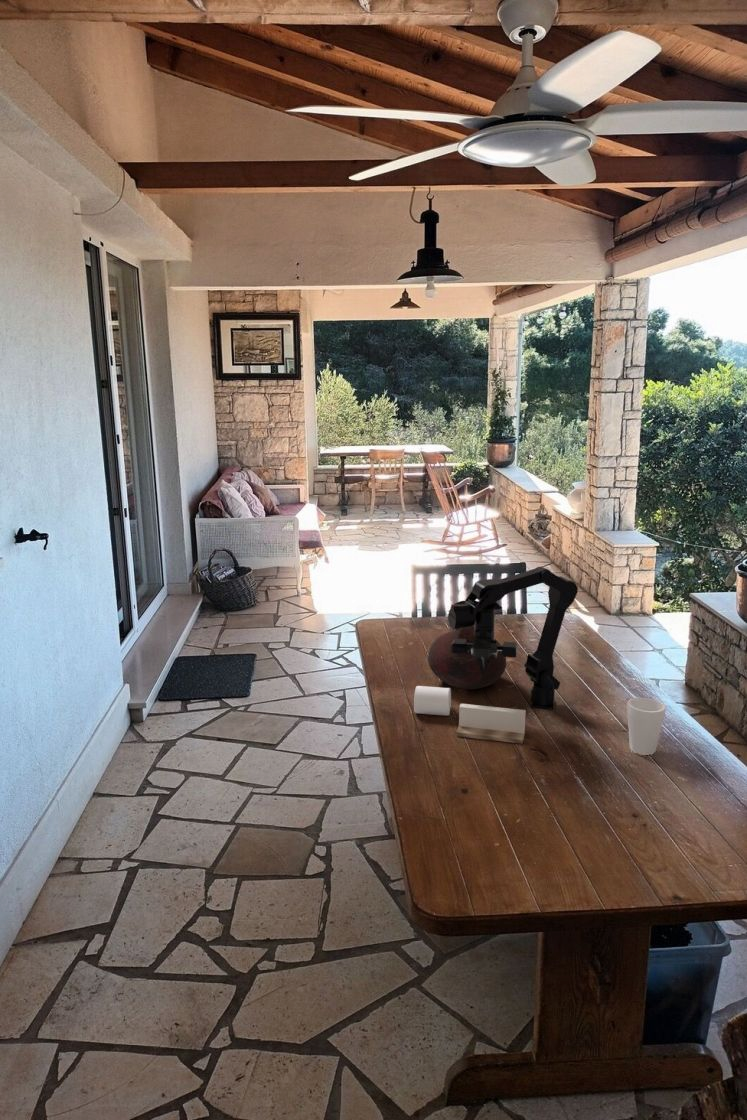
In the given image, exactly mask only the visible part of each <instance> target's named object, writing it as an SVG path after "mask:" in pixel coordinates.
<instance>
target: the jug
mask: <svg viewBox="0 0 747 1120" xmlns="http://www.w3.org/2000/svg"><path fill="white" fill-rule="evenodd" d="M475 601H476V602H479V600H475ZM454 604H457V605H459V604H466V603H465V600H459V601H457V602H455V603H454ZM474 631H475V625H472V626H471V627H464V628H456V629H451V631H448V632H445V633H443V634H442V635H441V634H440V635H439V636H438V637H436V639H434V641H433V642H432V644H431V645H430V647H429V651H428V654H427V661H428V666H429V669H430V670H431V671H432V673H433V675H435V676H436V677H437V678H438V679H439V680H440V681H442V682H444V683H445V684H446V685H448V686H450V687H453V688H457V689H462V690H478V689H482V688H485V687H488V686H490V685H492V684H494V683H496V682H497V681H498V680H499V679H500V678H501V677H502V676H503V674H504V673H505V672H506V668H507V657H505V656H504V655H503V654H502V652H498V653H497V656H496V658H494V659H492V660H491V662H490V664H489V666H488V669H487V672H486V675H485V676H482V673H481V670H480V668H479V665H478V662H477V660H476V659H475V658H474V657H471V650H465V649H464V652H463V653H462V654H456V653H451V644H452V642H453V640H454V639H455V638H456V639H467V643H473V639H474ZM494 640H497V639H496V638H494ZM497 643H498V645H502V644H501V643H500V642H499V640H497ZM483 659H484V666H485V658H484V657H483Z"/></svg>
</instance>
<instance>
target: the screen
mask: <svg viewBox="0 0 747 1120" xmlns="http://www.w3.org/2000/svg"><path fill="white" fill-rule="evenodd" d="M458 709H459V716H458V727H457V731H456V737H460V738H470V739H477V740H478V739H479V740H487V741H495V742H496V741H497V742H504V743H513V744H521V745H522V744H524V739H525V734H526V733H525V732H526V713H527V711H526V709H517V708H507V707H499V706H498V707H497V706H489V705H479V704H478V705H477V704H469V703H460V704H459V708H458Z"/></svg>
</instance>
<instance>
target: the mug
mask: <svg viewBox="0 0 747 1120" xmlns="http://www.w3.org/2000/svg"><path fill="white" fill-rule="evenodd" d="M451 701H452V690H451V687H438V686H426V685H425V686H424V685H416V686H415V690H414V697H413V710H414V714H423V715H435V716H447V717H449V716H450V713H451V703H452V702H451Z"/></svg>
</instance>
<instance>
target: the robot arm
mask: <svg viewBox="0 0 747 1120" xmlns="http://www.w3.org/2000/svg"><path fill="white" fill-rule="evenodd" d="M541 584H544V585H545V586H547V587H548V593H547V595H548V600H549V601H548V602H549V606H548V611H547V614H546V617H545V621H544V624H543V627H542V631H541V633H540V634H541V635H540V637H539V641H538V645H537V648H536V651H535V652H533V653H532V654H531V653H528V654H527V658H526V661H525V663H524V665H523V666H524V667H525V674H526V675H527V676H528V677H529V678H530V679H529V680H530V681H531V682H533V686H531V690H530V703H531V707H532V708H540V709H551V710H553V709H554V710H555V700H556V699H555V693H556V692H555V691H556V690H558V689H559V687H560V685H561V682H560V681H559V680H558V679H557V678H556V677H555V676H554V671H555V663H554V651H555V648H556V645H557V642H558V639H559V636H560V632H561V628H562V625H563V621H564V618H565V614H566V611H567V610H568V609H569V607H570V606H571V605H572V604H573V603H574V601H575V599H576V597H577V595H578V592H579V591H578V590H579V587H578V585H577V583H575V582H574V581H572V580H570V579H568V578H566V577H563V576H558V575H557V574H554V573H553V572H552V571H551V570H550V569H548V568H547V567H544V566H538V567H537V566H536V567H535V568H534V569H530V570H529V569H528V570H525V571H523V572H519V573H516V574H513V575H511V576H507V577H504V578H497V579H495V578H488V579H480V580H478V581H475V583H474V584H473V586H472V588H471V591H470V592H469V594H468V596H467V597H466V599H465V600H464V601H465V603H466V604H459V605H457V604H455V603H454V604H451V606H450V609H449V611H448V614H447V620H448V625H449V626H450V628H451V630H453V629H456V628H464V627H471V626H472V625H475V631H474V639H473V643H467V639H456V638H455V639H454V640H453V642H452V644H451V653H456V654H462V653H463V652H464V649H465V650H471V657H474V658H475V659H476V660H477V662H478V665H479V668H480V670H481V673H482V676H485V675H486V672H487V669H488V666H489V664H490V662H491V660H492V659H494V658H496V656H497V653H498V652H502V654H503V655H504V656H505V657H506V658H517V654H518V649H519V648H518V643H517V642H516V641H503V644H501V645H498V643H497V641H498V640H497V639H496V640H494V639H495V627H496V626H495V625H496V624H495V623H496V622H495V619H496V617H495V614H496V613H495V612H496V611H498V610H502V609H503V607H502V606H501V605H500V604H499V603H498V601H500V600H502V599H503V598H504V597H505V596H506V595H509V594H511V593H515V592H518V591H520V590H523V589H528V588H530V587H533V586H537V585H541ZM476 601H479V602H476ZM483 657H484V658H485V666H484V659H483Z"/></svg>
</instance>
